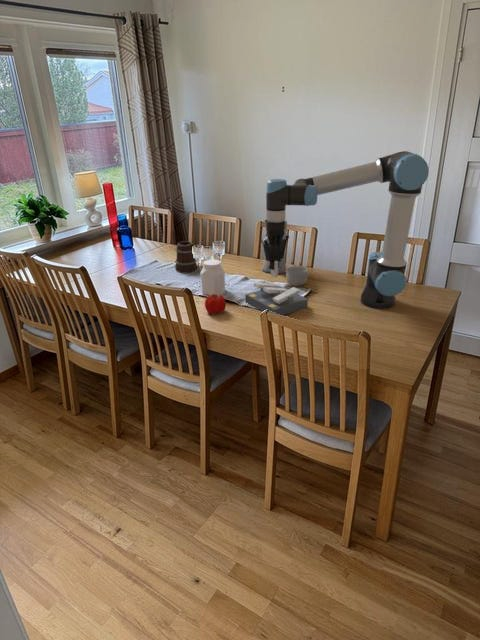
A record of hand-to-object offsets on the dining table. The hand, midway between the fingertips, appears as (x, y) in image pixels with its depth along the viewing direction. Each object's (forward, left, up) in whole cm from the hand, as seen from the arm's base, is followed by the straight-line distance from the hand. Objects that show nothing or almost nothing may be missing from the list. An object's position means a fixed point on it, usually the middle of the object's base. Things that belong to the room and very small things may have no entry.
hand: (274, 276), depth 185 cm
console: (+5, -6, -17) cm, 18 cm away
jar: (+36, +9, -17) cm, 41 cm away
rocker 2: (+5, -6, -10) cm, 13 cm away
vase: (+41, -33, -17) cm, 55 cm away
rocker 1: (+12, -6, -10) cm, 17 cm away
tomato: (+15, +20, -17) cm, 30 cm away
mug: (+74, +2, -17) cm, 76 cm away
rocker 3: (-2, -6, -10) cm, 11 cm away
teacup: (+20, -31, -17) cm, 41 cm away
